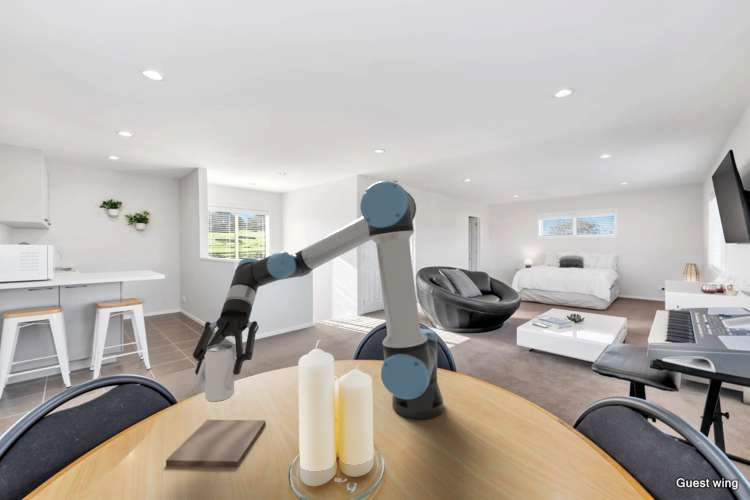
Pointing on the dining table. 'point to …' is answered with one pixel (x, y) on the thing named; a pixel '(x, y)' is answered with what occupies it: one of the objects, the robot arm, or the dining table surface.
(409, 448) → the dining table surface
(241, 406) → the dining table surface
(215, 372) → the can
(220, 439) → the walnut board
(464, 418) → the dining table surface
